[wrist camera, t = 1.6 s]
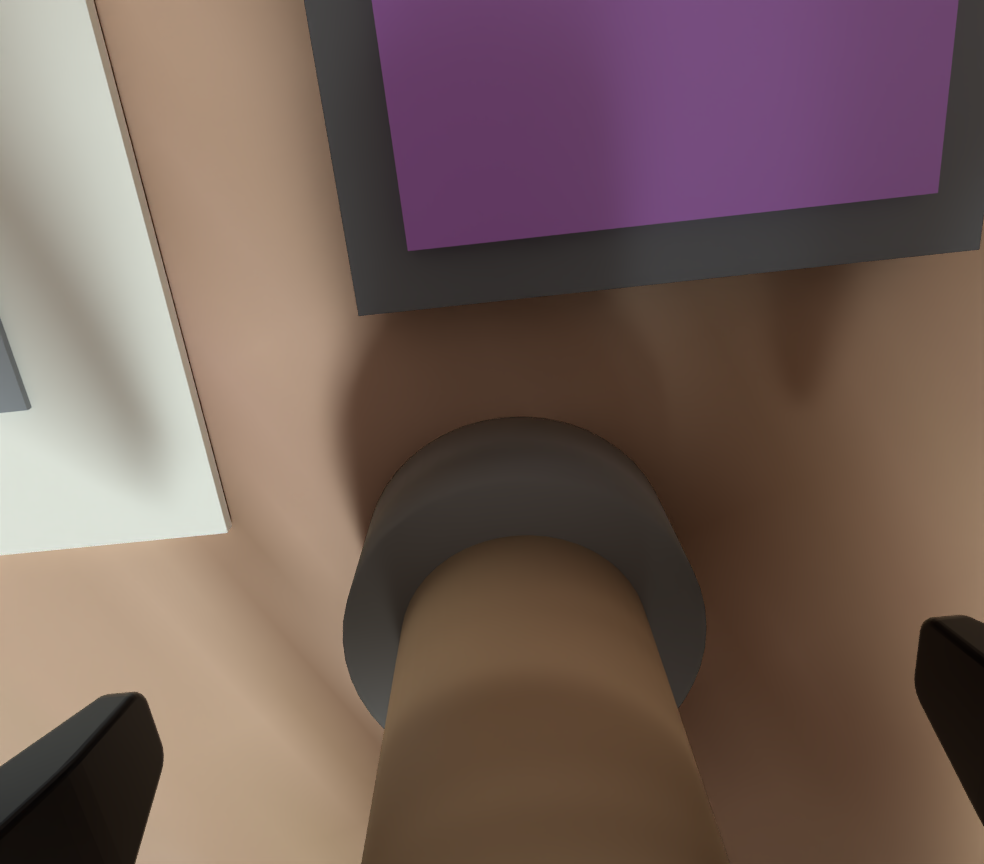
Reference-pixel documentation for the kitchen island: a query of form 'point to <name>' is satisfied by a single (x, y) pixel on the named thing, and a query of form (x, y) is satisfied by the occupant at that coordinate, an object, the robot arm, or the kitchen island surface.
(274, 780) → the kitchen island surface
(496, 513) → the stamp
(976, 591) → the kitchen island surface
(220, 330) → the kitchen island surface
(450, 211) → the ink pad
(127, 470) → the sheet
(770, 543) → the kitchen island surface
